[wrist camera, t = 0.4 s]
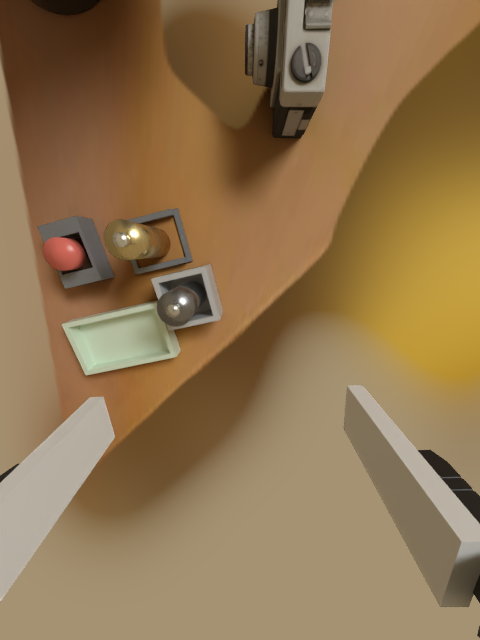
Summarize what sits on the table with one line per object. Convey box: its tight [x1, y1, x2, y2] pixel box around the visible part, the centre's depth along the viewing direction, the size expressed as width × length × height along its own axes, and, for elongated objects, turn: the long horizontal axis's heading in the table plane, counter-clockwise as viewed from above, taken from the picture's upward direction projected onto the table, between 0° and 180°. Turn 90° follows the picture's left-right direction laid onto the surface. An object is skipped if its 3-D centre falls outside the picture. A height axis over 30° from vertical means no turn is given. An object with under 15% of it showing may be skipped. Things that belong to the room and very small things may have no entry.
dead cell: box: [157, 281, 206, 327], centre depth 32 cm, size 4×4×11 cm
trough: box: [61, 300, 181, 375], centre depth 39 cm, size 10×17×3 cm, turn 103°
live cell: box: [104, 219, 170, 260], centre depth 30 cm, size 4×4×11 cm
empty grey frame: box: [127, 208, 193, 275], centre depth 35 cm, size 8×10×1 cm
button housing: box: [38, 216, 114, 289], centre depth 35 cm, size 9×7×4 cm
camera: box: [245, 0, 333, 138], centre depth 24 cm, size 14×8×10 cm, turn 179°
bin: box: [151, 264, 223, 331], centre depth 35 cm, size 8×8×5 cm
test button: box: [43, 237, 85, 271], centre depth 32 cm, size 4×4×2 cm
